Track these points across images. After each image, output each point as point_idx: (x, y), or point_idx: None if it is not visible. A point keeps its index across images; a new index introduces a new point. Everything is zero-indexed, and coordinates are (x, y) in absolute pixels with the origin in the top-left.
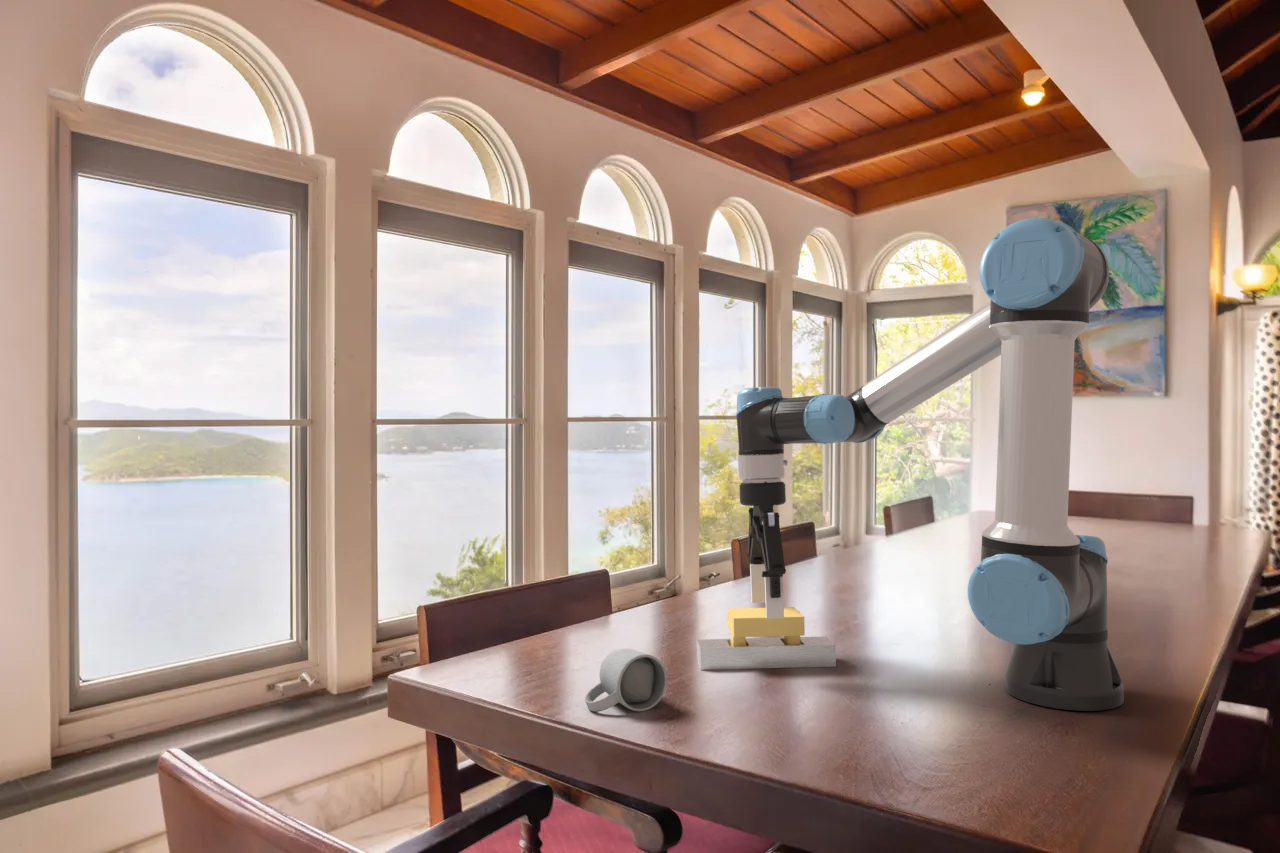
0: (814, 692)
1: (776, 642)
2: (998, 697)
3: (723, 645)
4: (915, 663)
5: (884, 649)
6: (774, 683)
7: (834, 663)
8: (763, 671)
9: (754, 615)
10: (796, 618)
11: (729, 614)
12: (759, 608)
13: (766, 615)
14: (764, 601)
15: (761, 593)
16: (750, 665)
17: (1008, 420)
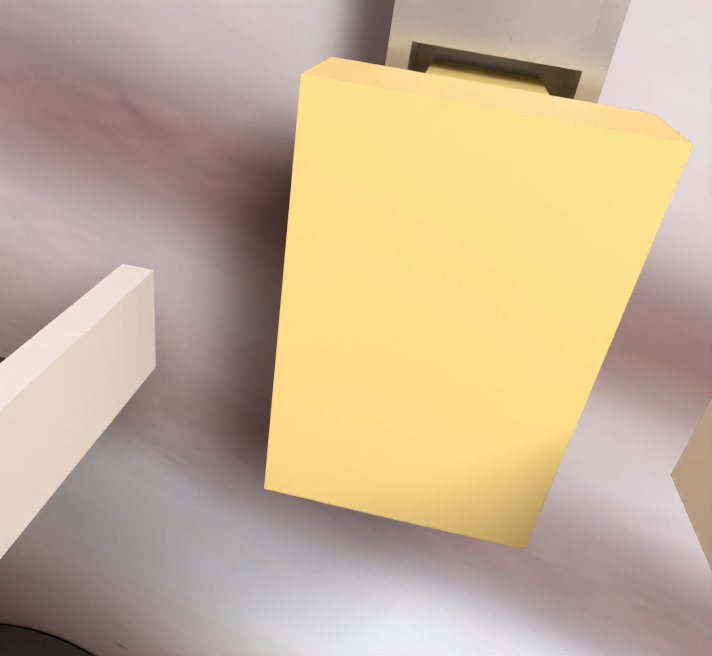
0: (47, 252)
1: None
2: (25, 607)
3: (447, 4)
4: (317, 627)
5: (488, 645)
6: (157, 154)
7: None
8: None
9: (362, 259)
10: (270, 450)
11: (543, 113)
12: (574, 373)
13: (123, 273)
14: (681, 461)
15: (709, 488)
16: None
17: None
